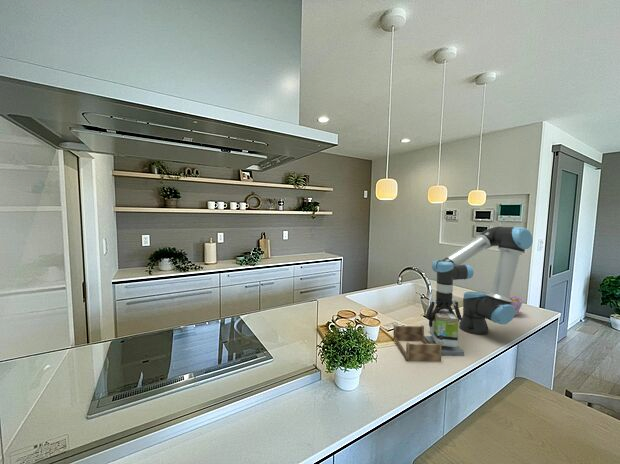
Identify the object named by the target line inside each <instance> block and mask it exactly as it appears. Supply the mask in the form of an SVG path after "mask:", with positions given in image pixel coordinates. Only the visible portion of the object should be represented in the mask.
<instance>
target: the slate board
mask: <svg viewBox="0 0 620 464" xmlns="http://www.w3.org/2000/svg"><path fill="white" fill-rule="evenodd" d="M424 338H425V340H426V341H427V342H428V343H429V344H436V342H435V341H434V339H433V337H432V336H431V335H424ZM443 356H446V357H447V356H448V357H449V356H452V357H455V356H457V357H459V356H461V357H464V356H465V351H464V350H463V349H462V348H461V347H460V346H459V345H457V347H451V346H442V354H441V357H443Z"/></svg>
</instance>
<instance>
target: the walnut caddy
mask: <svg viewBox="0 0 620 464" xmlns="http://www.w3.org/2000/svg"><path fill="white" fill-rule="evenodd" d="M392 332H393V337H392V338H393V339H394V340H395V342H396V343H395V342H394V343H395V345H396V346H397V348H398V350H399V351H400V353H401V354H402V355H403V357H404V359H405V361H406V362H442V356H441V354H442V344H441V343H438V344H429V343H428V342H427V341H426V340H425V338H424V336H425V326H424V325H415V326H414V325H396V324H394V325H393V331H392ZM393 339H392V340H393ZM394 340H393V341H394ZM401 342H406V343H405V344H406V345H405V347H403V345H402V344H401ZM409 342H421V343H409Z"/></svg>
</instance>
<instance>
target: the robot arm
mask: <svg viewBox="0 0 620 464" xmlns="http://www.w3.org/2000/svg"><path fill="white" fill-rule="evenodd" d="M533 241H534V240H533V235H532V233H531V231H530V230H529V229H528V228H526V227H521V226H502V225H501V226H493V227H491V228H488V229H486V230H484V231H481V232H480V233H479V234H477V235H476V236H475V238H474V239H473V240H471V241H469V242H467V243H466V244H465V245H464V246H463V245H462V247H460V248H459V249H457V250H455V251H454V252H452V253H450V254H449V255H448V256H445V258H443V259H436V260H434V261H433V262H432V264H431V269H432V271H433V272H435V273H436V293H435V298H436V299H435V300H430V301H429V305H428V308H427V312H426V314H425V316H424V317H425V318H426V320H427V321H428V326H429V332H430V331H431V332H432V333H434V321H433V320H434V318H435V314H436V313H438V312H439V311H440V310H441V309H448V310H449V312H450V313H452V314H454V315H455V316H456V317H457V318H458V319H459V324H458V328H459V329H461V331H464V332H466V333H468V334H472V335H478V336H483V335H485V336H486V335H488V334H489V327H488V323H487V320H489V321H491V322H493V323H496V324H499V325H508V324H509V323H510V322H512V320H513V319H514V318H515V315H516V314H515V310H514V307H513V306H512V305H511V303H512V301H511V300H510V298H509V296H510V295H511V292H512V287H513V284H514V283H513V282H514V280H515V277H516V276H515V275H516V271H517V267H518V263H519V260H520V256H521V255H523V254H525V250H528V249H530V248H531V247H532V246H533ZM491 247H497V249H498V251H500V253H499V255H498V256H499V257H498V261H497V264H496V269H495V272H494V277H493V280H492V281H493V282H492V285H491V289H490V292H489V293H485V292H482V291H481V292H480V291H466V292H464V293H463V298H462V300H463V302H462V314H461V312H460V308H459V302H458V301H457V300H453V288H454V285H453V284H454V281H455V280H468V279H472V277H473V276H474V273H475V272H474V268H473V267H472V266H471V265H469V264H464V263H465V262H467V261H468V260H469V259H471V258H473V257H474V256H476V255H477V254H478V253H480V252H482V251H483V250H484V249H485V250H489V249H490V248H491ZM451 306H453V308H452V307H451ZM433 308H435V309H434V311H433ZM453 309H454V310H453ZM432 311H433V312H432Z"/></svg>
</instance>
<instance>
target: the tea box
mask: <svg viewBox="0 0 620 464" xmlns="http://www.w3.org/2000/svg"><path fill="white" fill-rule="evenodd" d="M434 309H435V307H434V308H433V311H434ZM433 311H432V312H433ZM455 315H456V314H455ZM455 315H454V314H452V313H450V312H449V310H448V309H441V310H440V311H439V312H438V313H436V314H435V318H434V320H433V321H434V333H432V332H431V331H430V330H429V334H430V336H432V337H433V339H434V341H435V342H436V344H438V343H441V344H442V346H451V347H457V346H459V343H458V342H459V341H458V340H459V339H458V338H459V323H460V320H459V319H458V318H457V315H456V316H455Z"/></svg>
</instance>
